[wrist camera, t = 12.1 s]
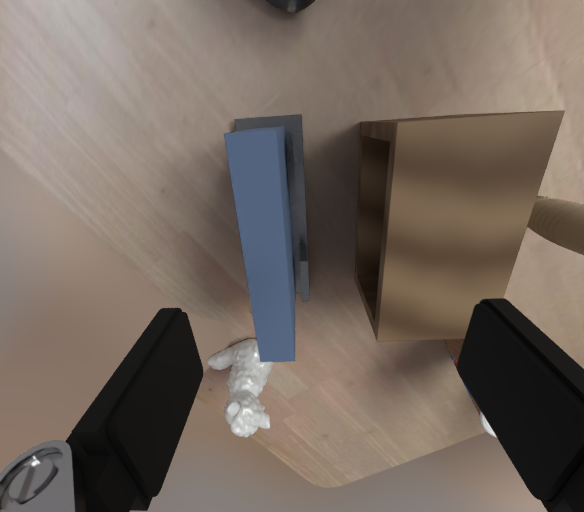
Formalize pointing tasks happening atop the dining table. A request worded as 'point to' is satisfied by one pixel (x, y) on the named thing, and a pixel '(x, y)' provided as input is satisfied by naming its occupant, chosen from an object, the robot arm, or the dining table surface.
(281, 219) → the door
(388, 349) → the dining table surface
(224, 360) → the white creature statuette
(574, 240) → the handle
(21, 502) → the robot arm
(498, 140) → the cabinet
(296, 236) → the grey slotted rack
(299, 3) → the seashell
